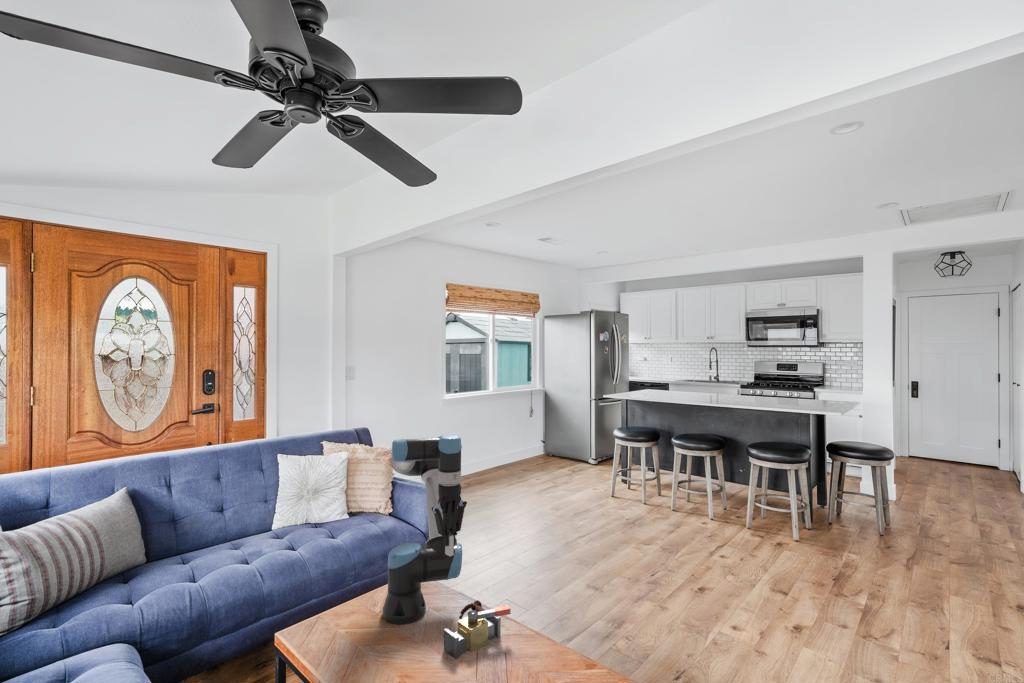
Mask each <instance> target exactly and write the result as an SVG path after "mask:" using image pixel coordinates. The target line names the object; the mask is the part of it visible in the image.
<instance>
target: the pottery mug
mask: <svg viewBox="0 0 1024 683" xmlns="http://www.w3.org/2000/svg"><path fill="white" fill-rule="evenodd" d="M469 610H471V611H472V610H475V611H477V612H481V611H486V610H485V609H484V608H483V607H482V603H481V601H480V600H478V599H477V600H475V601H474V602H472V603H469V604H467V605H465V606H464V607H463V608H462V609H461V610H460V615H459V617H458V618H459V620H461V619H463V618H464V615H465V613H467V611H469ZM483 619H485V618H483Z"/></svg>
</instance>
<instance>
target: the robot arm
mask: <svg viewBox="0 0 1024 683" xmlns="http://www.w3.org/2000/svg"><path fill="white" fill-rule="evenodd" d="M462 449H463V445H462V438H461V437H460V436H459V435H453V434H452V435H451V434H449V435H440V436H438V437H426V438H407V439H406V438H401V439H394V440H393V441H392V443H391V458H390V466H391V467H392V469H393V470H394V471H395V472H396V473H398V474H401V475H403V476H408V477H420V480H421V481H422V482H423V483H424V485H425V495H426V497H425V498H426V511H427V523H428V524H427V525H428V537H429V538H428V539H427V540H426V542H425V547H422V545H421V543H419V542H411V541H410V542H405V543H401V544H399V545H396V546H395V547H394V548H392V549H391V550H390V551H389V552H388V553H389V554H388V559H387V594H386V597H385V599H384V604H383V607H382V618H383V620H384V621H386V622H388V623H390V624H395V625H407V624H411V623H414V622H417V621H418V620H421V619H422V618H423V617H424V616H425V614H426V611H427V610H426V608H427V604H426V601H425V598H424V595H423V592H422V583H430V582H437V581H448V580H451V579H452V580H453V579H456V578H459V576H460V574H461V573H462V572H461V571H462V564H463V546H462V543H459V542H458V540H457V537H456V536H457V535H458V534H459V532H461V528H462V524H463V519H464V514H465V509H466V506H467V504H468V502H467V501H466V500H463V499H462V497H461V496H462V483H461V482H462Z"/></svg>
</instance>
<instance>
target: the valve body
mask: <svg viewBox="0 0 1024 683" xmlns="http://www.w3.org/2000/svg"><path fill="white" fill-rule="evenodd" d="M501 618H502V616H498V617H496V616H493V617H488V618H485V619H478V621H477V622H476V623H469V622H468V616H466V617H462V619H461V620H460V619H459V620H457V631H455V632H453V631H452V630H450V629H449V628H444V629H443V651H444V652H445V653H447V654H448V655H449V656H450V657H452V658H453V659H454V660H455V661H456V660H458V659H459V658H460V656H461V655H464V654H466V653H467V652H469V653H471V654H472V653H473V652H475V651H477V650H479V649H481V648H483V647H485V646H486V645H488V644H489V641H491V640H493V639H495V638H497V639H499V638H501Z"/></svg>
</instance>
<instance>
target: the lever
mask: <svg viewBox="0 0 1024 683" xmlns="http://www.w3.org/2000/svg"><path fill="white" fill-rule="evenodd" d="M507 615H511V607H510V606H509V605H503V606H498V607H493V608H491V609H486V610H485V611H481V612H477V611H475V610H472V609H471V610H468V612H467V617H468V622H469V623H476V622H477V621H478V619H483V618H488V617H493V616H496V617H498V616H499V617H503V616H507Z"/></svg>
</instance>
